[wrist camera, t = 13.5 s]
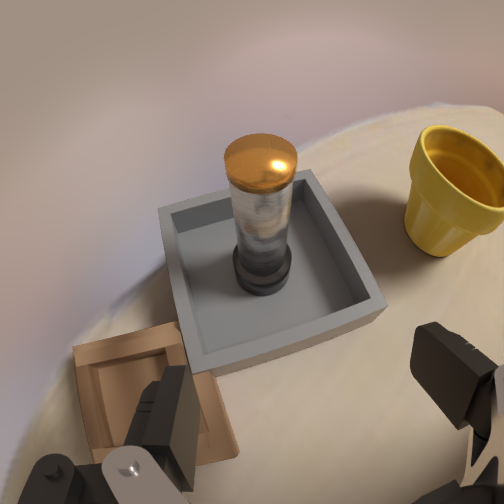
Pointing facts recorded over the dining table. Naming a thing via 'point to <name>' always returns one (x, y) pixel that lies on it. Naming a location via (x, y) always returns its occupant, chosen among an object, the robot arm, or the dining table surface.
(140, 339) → the brown square open box
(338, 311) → the tray
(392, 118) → the dining table surface
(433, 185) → the plant pot
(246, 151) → the gold-capped glass canister
